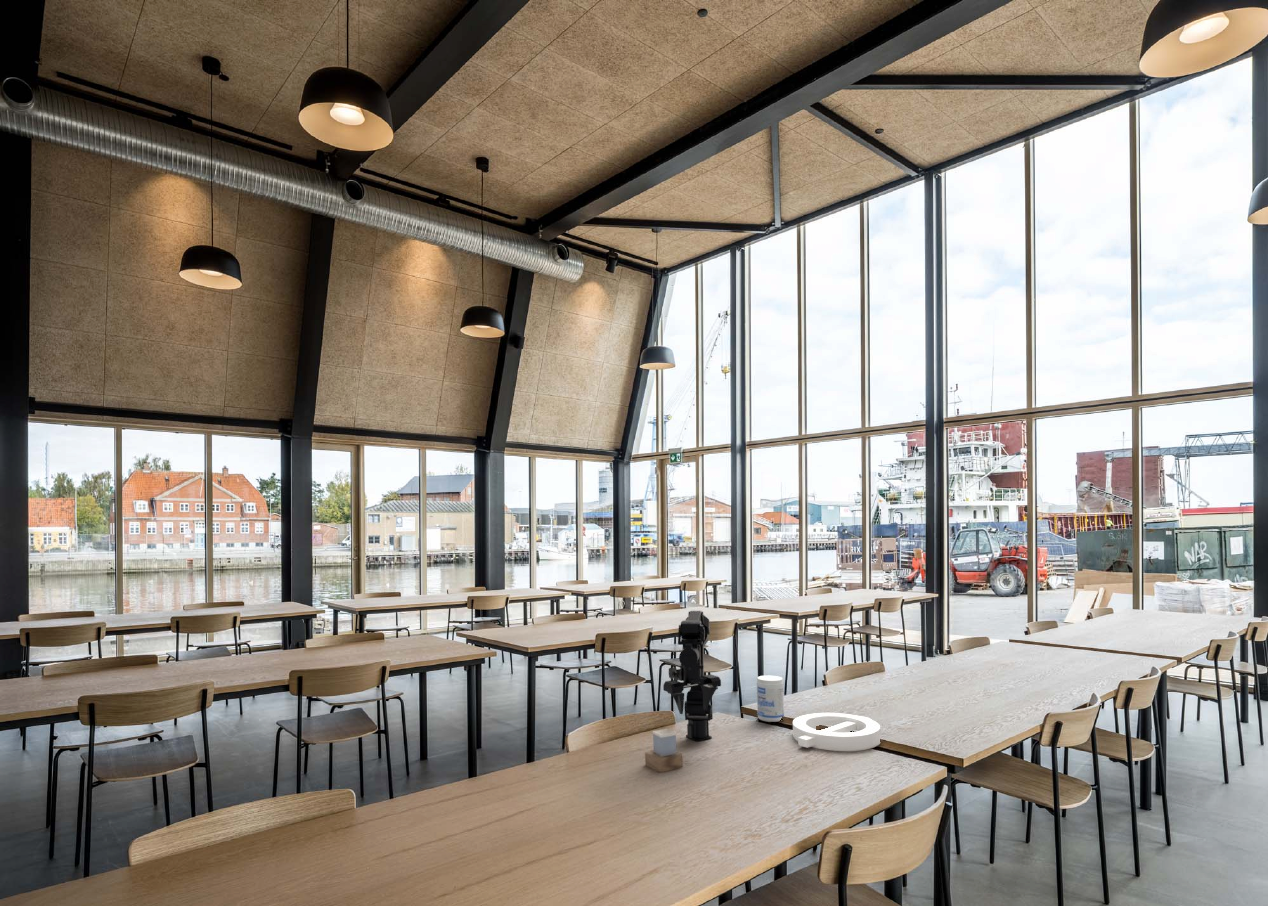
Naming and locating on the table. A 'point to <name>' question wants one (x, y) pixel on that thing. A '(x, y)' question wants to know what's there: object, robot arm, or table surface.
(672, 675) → the robot arm
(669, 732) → the white block
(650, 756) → the walnut block
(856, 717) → the ring with crossbar
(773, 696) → the supplement tub
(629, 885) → the table surface
